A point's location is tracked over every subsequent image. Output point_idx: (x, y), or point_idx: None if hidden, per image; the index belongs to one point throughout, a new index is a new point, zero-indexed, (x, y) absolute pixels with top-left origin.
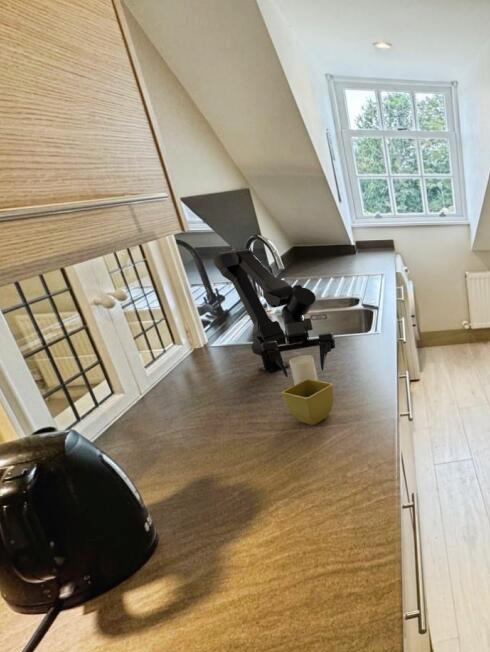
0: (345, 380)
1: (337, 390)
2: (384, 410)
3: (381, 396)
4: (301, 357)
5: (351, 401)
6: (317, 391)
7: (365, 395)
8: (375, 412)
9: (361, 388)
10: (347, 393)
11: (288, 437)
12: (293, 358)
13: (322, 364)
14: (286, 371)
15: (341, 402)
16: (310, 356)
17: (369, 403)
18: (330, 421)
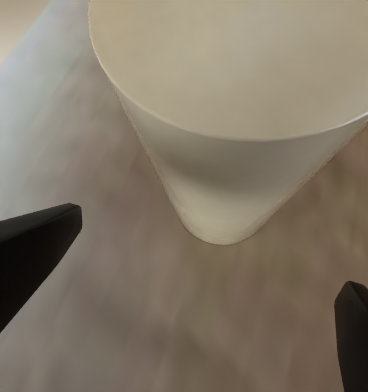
0: (3, 329)
1: (86, 242)
2: (65, 4)
3: (12, 84)
4: (228, 50)
5: (99, 112)
6: None
7: (41, 124)
8: None
9: (13, 190)
10: (74, 184)
11: None
12: (356, 83)
13: (42, 213)
14: (361, 302)
15: (128, 127)
16: (110, 15)
17: (67, 64)
18: None
